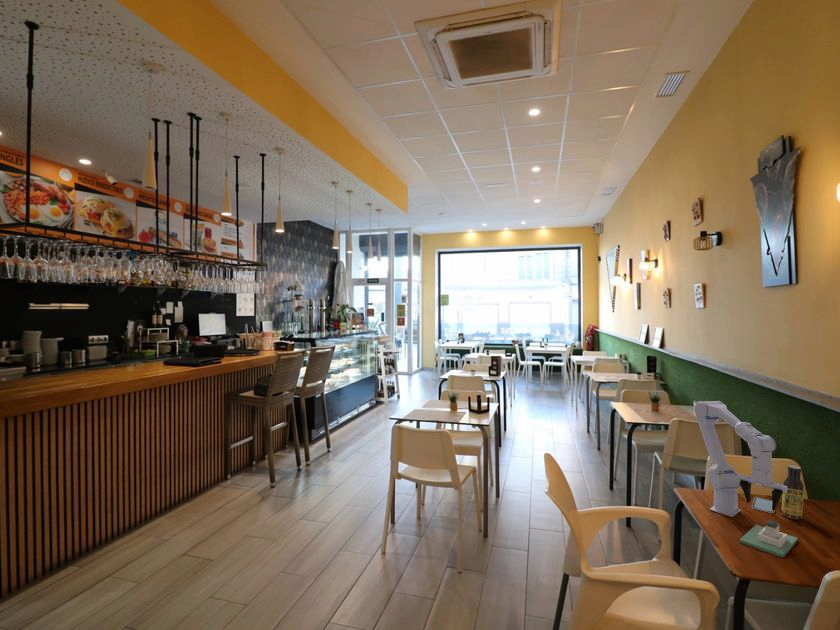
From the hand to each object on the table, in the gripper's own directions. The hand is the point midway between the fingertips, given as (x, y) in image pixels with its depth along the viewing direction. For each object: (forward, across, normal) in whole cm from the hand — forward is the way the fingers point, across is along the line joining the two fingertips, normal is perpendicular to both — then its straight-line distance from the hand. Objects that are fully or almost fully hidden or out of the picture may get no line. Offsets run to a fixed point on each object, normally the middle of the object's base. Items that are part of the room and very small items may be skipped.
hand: (761, 505), depth 160 cm
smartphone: (+10, -6, +28) cm, 30 cm away
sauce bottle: (+10, +4, +24) cm, 26 cm away
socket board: (+9, +4, -7) cm, 12 cm away
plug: (+8, +5, -7) cm, 12 cm away
